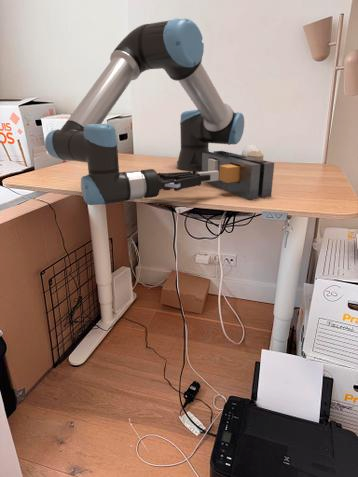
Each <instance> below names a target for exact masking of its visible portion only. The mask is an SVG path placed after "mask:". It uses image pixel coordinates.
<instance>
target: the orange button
mask: <svg viewBox="0 0 358 477" xmlns="http://www.w3.org/2000/svg"><path fill="white" fill-rule="evenodd" d="M219 180H221V181H223V182H226V183H230V182H238V181H240V166H237V165H233V164H229V165H220V173H219Z"/></svg>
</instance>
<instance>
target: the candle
mask: <svg viewBox="0 0 358 477" xmlns="http://www.w3.org/2000/svg"><path fill="white" fill-rule="evenodd" d="M248 157H251V158H256V159H260V160H264V154H263V152H262V151H261V150H259V151H258V152H256V151H251V152H250V153H249V154H248Z"/></svg>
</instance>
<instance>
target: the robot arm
mask: <svg viewBox="0 0 358 477" xmlns="http://www.w3.org/2000/svg"><path fill="white" fill-rule="evenodd" d="M204 50H205V46H204V42H203V34H202V33H201V29H200V28H199V27H198V25H197V24H196V23H195V22H194V21H193V20H192V19H189V18H173V19H170V20H164V21H158V22H157V21H156V22H152V23H145V24H141V25H139V26H138V27H137V26H136V28H134V29H133V30H132V31H130V32H129V33H128V34H127V35H126V36H125V37H124V38H123V39H122V40H121V41H120V43H119V44H118V45H116V47H115V49H113V51H112V52H111V54H110V57H109V59H110V62H109V63H108V64H107V66H106V67H105V68H104V70H103V71H102V73H101V74H100V76H99V77H98V78H97V79H96V81H95V82H94V83H93V85H92V87H91V88H89V90H88V92H87V93H86V94H85V96H84V97H83V98H82V99H81V102H79V104H78V106H77V107H76V108H75V109H74V111H73V112H72V113H71V115H70V116H69V118H68V119H67V121H66V122H65V123H64V124H63V125H62V126H61V128H60V129H55V130H51V131H49V132H48V133H47V134H46V136H45V140H44V145H45V146H44V147H45V149H46V151H47V153H48V154H49V155H50V156H52V158H55V159H59V160H61V161H62V160H63V161H71V162H72V161H73V162H80V163H87V169H88V170H87V171H88V174H86V175H83V176H82V177H81V178H80V188H81V194H82V198H83V201H84V202H85V204H86V205H89V206H95V205H96V206H97V205H107V204H115V203H121V202H126V201H130V202H132V203H133V202H135V200H142V199H150V198H151V199H152V198H156V197H158V195H159V193H160V191H161V190H163V191H170V190H173V191H175V192H177V191H178V192H179V191H180V190H184V189H188V188H193V187H197V186H199V187H200V186H201V185H202V184H203V183H206V182H210V181H218V180H219V171H216V170H215V171H206V172H202V152H210V150H209V144H217V145H218V144H221V145H228V146H230V145H238V144H239V143H240V141H241V139H242V137H243V134H244V130H245V129H244V128H245V116H244V115H243V113H242V112H239V111H238V112H234V110H233V108H232V107H231V106H230V105H229V104H227V103H224V101H223V99H222V98H221V96H220V94H219V92H218V91H217V89H216V87H215V86H214V84H213V82H212V80H211V78H210V76H209V75H208V73H207V70H206V69H205V68H204V66H203V64H202V62H203V56H204V52H205V51H204ZM157 69H158V70H159V69H162V70H164V71H165V73H166V74H167V76H168V77H169V78H170V79H171V80H173V81H176V82H179V83H180V86H181V87H182V88H183V89H184V91H185V92H186V94H187V96H188V97H189V99H190V100H191V101H192V103H193V104H194V106H195V107H196V109H192V110H191V109H190V110H186V111H183V112H182V113H181V114H180V120H179V121H180V122H179V125H180V128H179V129H180V151H179V155H178V160H177V162H176V169H178V170H183V171H180V172H179V171H177V172H157V171H156V170H155V169H153V168H151V169H150V168H149V169H141V170H138V169H136V170H128V171H121V172H120V166H119V151H118V140H117V132H116V128H115V126H114V125H113V124H111V123H103V122H104V121H105V120H106V118H107V117H108V115H109V114H110V112H111V111H112V109H113V108H114V106H115V105H116V104H117V102H118V101H119V99H120V98H121V96H122V95H123V93H125V91H126V89H127V88H128V86H129V85H130V83H131V82H132V81H135V80H137V79H138V78H139V77H140V75H141V74H142V73H143V72H146V71H149V70H157ZM191 171H192V172H191ZM197 171H198V172H197ZM199 171H200V172H199Z"/></svg>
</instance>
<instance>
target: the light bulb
mask: <svg viewBox="0 0 358 477" xmlns="http://www.w3.org/2000/svg"><path fill="white" fill-rule="evenodd" d="M251 151H256V152H258V151H260V150H259V149H258V147H257V145H255V144H253V143H251V144H247V145H246V146H244V147H243V149H242V151H241V155H243V156H247V157H248V154H249V153H250V152H251Z"/></svg>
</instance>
